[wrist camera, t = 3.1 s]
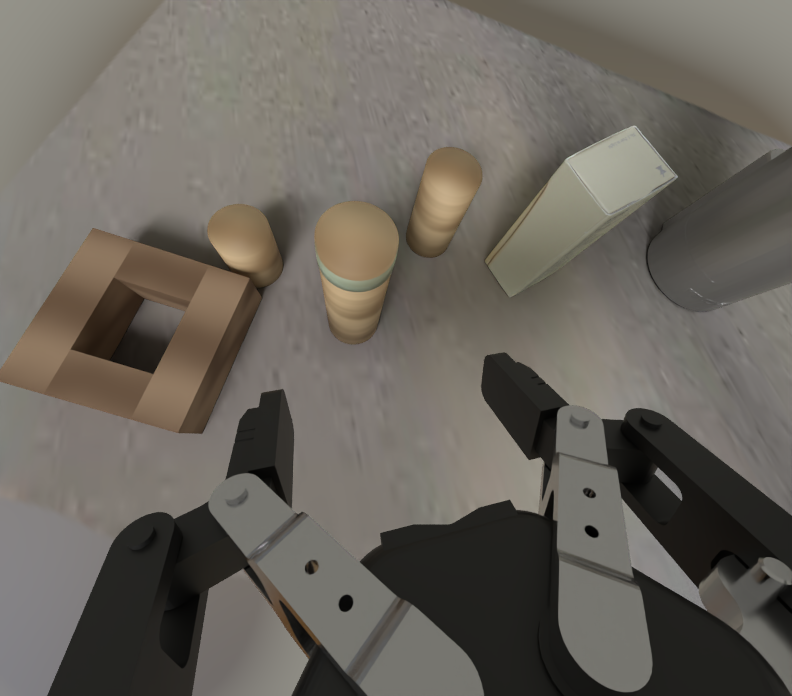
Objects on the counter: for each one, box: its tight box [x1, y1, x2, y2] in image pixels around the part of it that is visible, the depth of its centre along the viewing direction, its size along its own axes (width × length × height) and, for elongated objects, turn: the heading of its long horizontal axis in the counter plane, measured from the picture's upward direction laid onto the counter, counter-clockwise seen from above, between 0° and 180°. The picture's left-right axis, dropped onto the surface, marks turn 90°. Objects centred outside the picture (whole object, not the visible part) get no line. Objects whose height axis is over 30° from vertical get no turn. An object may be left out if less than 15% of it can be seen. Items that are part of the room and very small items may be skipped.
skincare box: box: [485, 126, 678, 297], centre depth 25 cm, size 6×4×12 cm
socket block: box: [0, 228, 262, 434], centre depth 23 cm, size 11×11×4 cm
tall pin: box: [315, 201, 399, 344], centre depth 22 cm, size 4×4×12 cm
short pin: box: [207, 204, 283, 288], centre depth 25 cm, size 4×4×5 cm
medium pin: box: [406, 147, 482, 258], centre depth 27 cm, size 4×4×8 cm
